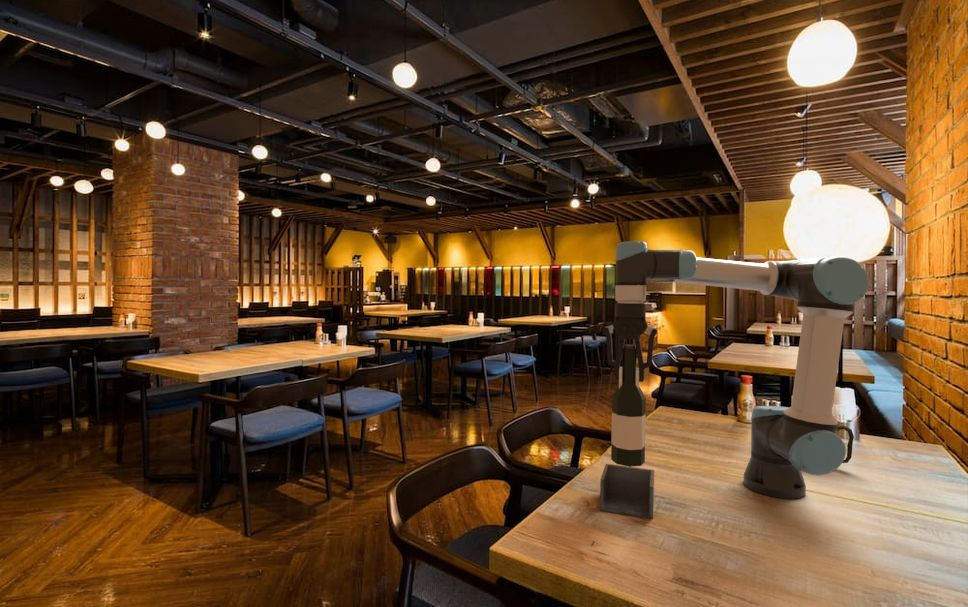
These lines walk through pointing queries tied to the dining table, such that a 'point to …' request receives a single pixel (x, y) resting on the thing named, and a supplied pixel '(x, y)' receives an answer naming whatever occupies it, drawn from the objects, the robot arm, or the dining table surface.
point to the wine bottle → (628, 416)
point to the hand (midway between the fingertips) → (628, 393)
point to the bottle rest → (627, 491)
